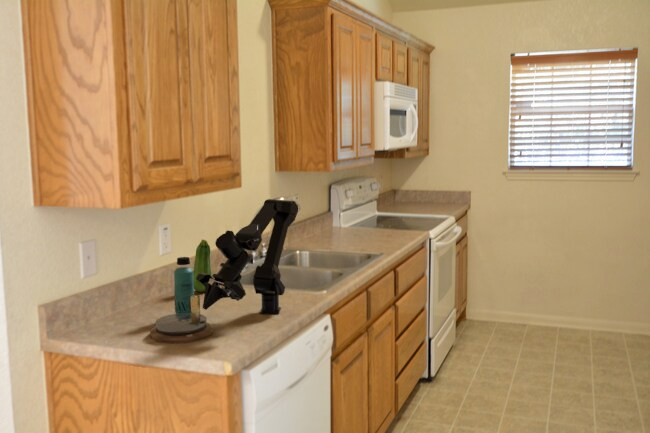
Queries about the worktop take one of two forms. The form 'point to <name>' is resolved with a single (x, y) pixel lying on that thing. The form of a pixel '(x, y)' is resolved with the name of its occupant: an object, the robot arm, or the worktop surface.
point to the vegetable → (201, 264)
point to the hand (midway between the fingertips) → (204, 308)
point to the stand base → (181, 336)
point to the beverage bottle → (183, 286)
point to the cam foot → (183, 321)
